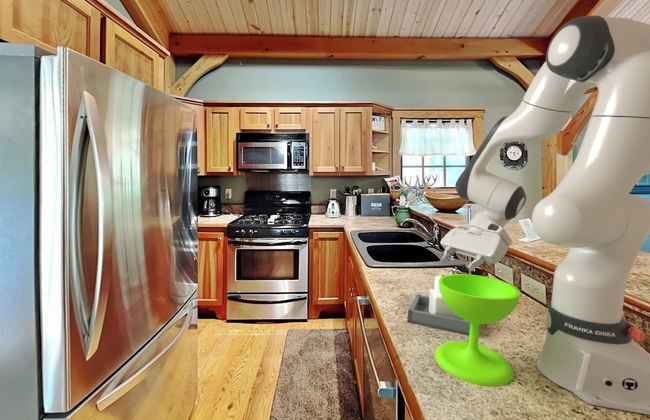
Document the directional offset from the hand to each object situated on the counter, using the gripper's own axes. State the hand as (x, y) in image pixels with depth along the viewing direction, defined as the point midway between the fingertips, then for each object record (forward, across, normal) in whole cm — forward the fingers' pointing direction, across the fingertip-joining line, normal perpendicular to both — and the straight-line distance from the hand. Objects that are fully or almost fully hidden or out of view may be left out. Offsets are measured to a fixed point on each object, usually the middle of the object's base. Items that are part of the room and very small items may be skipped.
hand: (456, 264), depth 91 cm
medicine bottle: (+14, +1, +8) cm, 16 cm away
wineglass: (+21, +20, +2) cm, 29 cm away
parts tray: (+14, 0, +8) cm, 17 cm away
